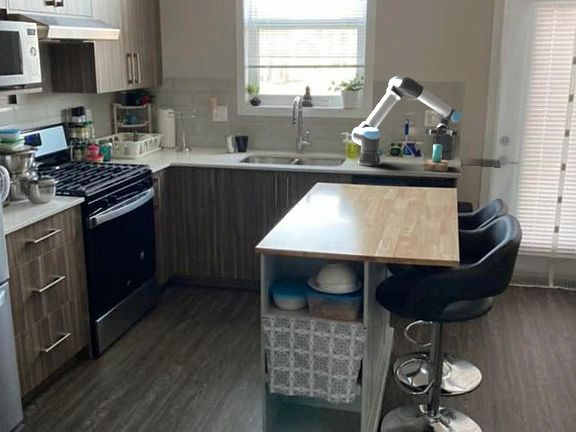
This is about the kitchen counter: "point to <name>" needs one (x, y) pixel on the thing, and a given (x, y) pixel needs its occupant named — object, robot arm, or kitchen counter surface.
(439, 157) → the teal jar
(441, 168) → the walnut base
